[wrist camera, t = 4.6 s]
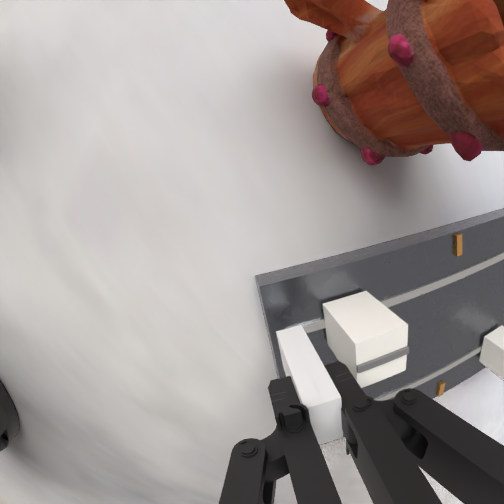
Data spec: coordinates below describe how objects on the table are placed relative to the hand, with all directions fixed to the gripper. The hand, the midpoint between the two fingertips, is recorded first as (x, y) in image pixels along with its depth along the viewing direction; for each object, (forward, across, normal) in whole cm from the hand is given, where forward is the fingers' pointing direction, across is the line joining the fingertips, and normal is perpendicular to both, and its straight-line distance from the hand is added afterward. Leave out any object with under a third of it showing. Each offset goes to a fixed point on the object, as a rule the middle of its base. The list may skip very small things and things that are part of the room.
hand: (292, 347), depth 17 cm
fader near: (+1, +4, 0) cm, 4 cm away
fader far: (+2, +20, -9) cm, 22 cm away
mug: (+4, +7, +16) cm, 18 cm away
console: (+4, +12, -4) cm, 13 cm away
